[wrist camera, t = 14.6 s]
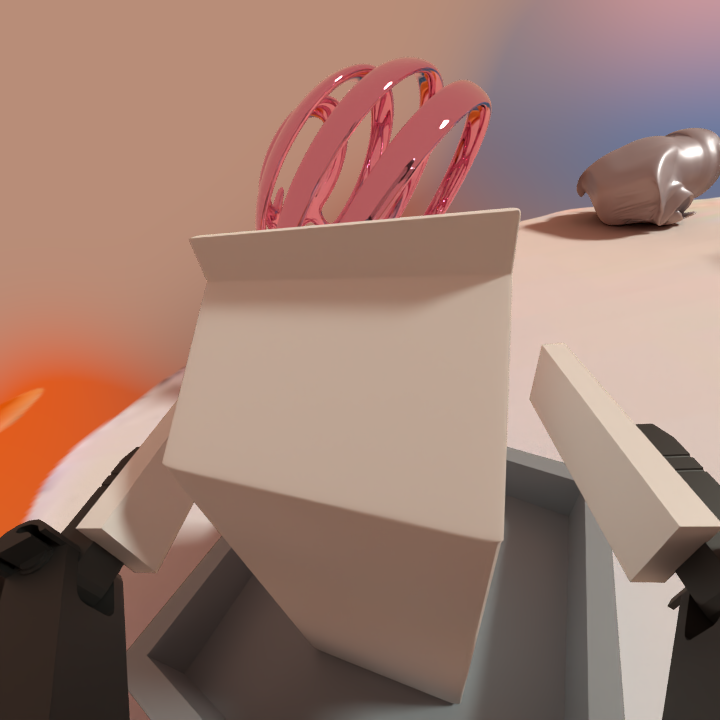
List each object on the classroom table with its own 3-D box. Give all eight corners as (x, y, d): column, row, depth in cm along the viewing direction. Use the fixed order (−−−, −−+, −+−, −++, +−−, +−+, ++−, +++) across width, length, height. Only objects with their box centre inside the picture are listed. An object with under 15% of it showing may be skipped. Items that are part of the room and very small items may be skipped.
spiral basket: (643, 116, 27) (393, -42, 29) (535, 325, 15) (126, 32, 17) (472, 297, 52) (345, 205, 54) (382, 428, 40) (224, 304, 42)
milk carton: (460, 707, 13) (567, 306, 2) (312, 648, 16) (24, 304, 5) (466, 538, 19) (506, 178, 8) (355, 512, 21) (267, 206, 10)
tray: (344, 435, 28) (335, 398, 25) (584, 517, 20) (606, 475, 17) (164, 690, 16) (112, 669, 13) (593, 1195, 7) (676, 1407, 5)
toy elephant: (558, 226, 73) (564, 155, 64) (626, 195, 73) (642, 120, 64) (639, 251, 58) (663, 163, 48) (725, 213, 57) (766, 117, 48)
